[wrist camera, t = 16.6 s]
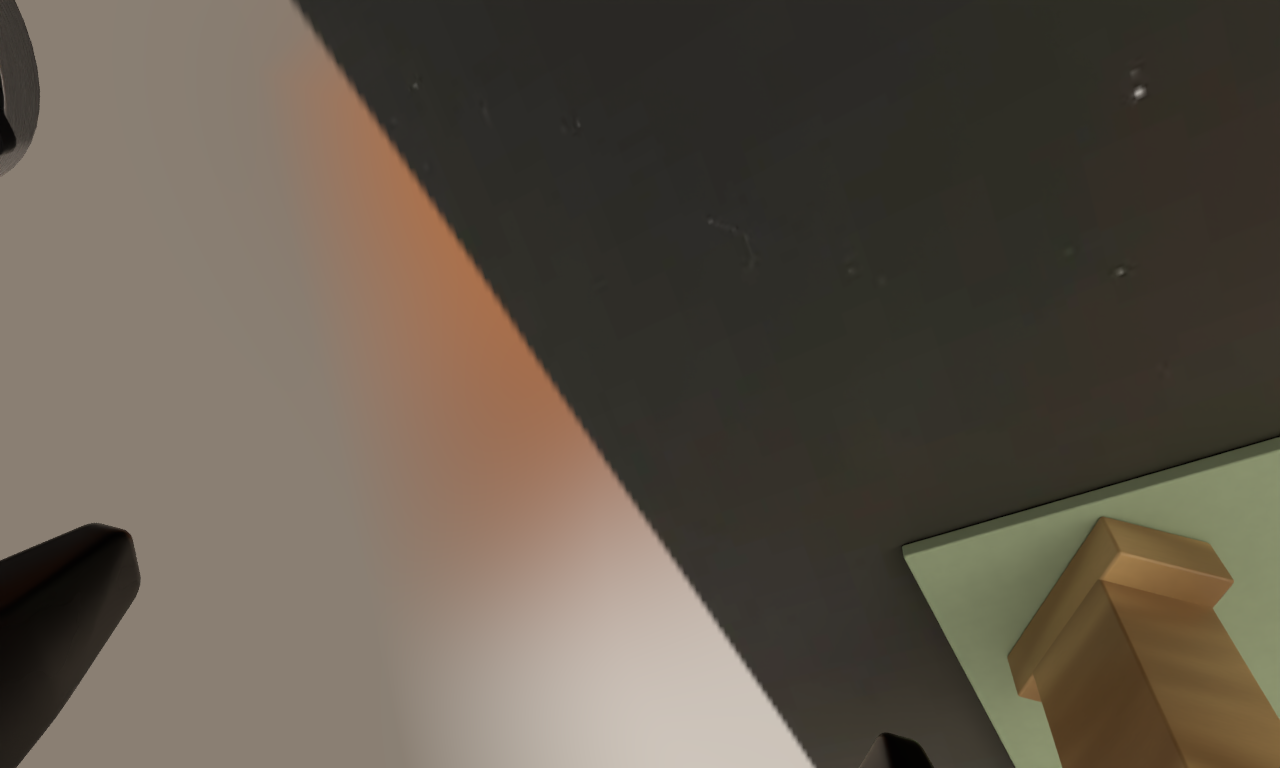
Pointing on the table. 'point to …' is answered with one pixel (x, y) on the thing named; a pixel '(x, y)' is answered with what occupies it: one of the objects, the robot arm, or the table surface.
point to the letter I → (1143, 659)
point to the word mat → (1049, 539)
